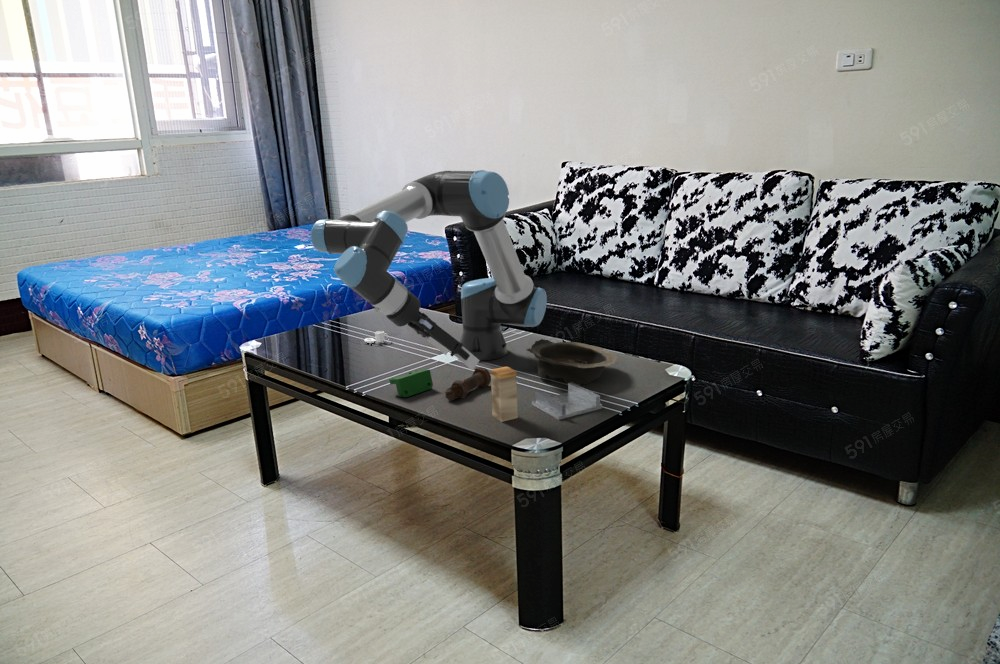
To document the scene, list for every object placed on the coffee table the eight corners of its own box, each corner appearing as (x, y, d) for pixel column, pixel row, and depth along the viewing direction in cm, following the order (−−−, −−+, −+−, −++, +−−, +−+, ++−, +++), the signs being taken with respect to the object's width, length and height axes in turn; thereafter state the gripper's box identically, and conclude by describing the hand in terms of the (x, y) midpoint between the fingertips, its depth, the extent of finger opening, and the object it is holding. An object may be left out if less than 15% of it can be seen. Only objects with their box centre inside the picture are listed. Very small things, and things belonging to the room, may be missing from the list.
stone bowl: (510, 379, 209) (510, 347, 207) (563, 362, 227) (564, 333, 225) (583, 396, 193) (584, 362, 191) (633, 377, 211) (635, 345, 209)
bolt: (447, 408, 195) (482, 388, 207) (460, 402, 192) (494, 383, 204) (437, 388, 195) (472, 369, 207) (449, 382, 192) (485, 363, 204)
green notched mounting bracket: (418, 401, 207) (422, 370, 208) (430, 401, 203) (434, 370, 204) (385, 395, 200) (389, 364, 201) (396, 395, 196) (400, 363, 197)
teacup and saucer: (361, 345, 247) (360, 333, 246) (377, 339, 253) (376, 327, 252) (381, 348, 242) (380, 336, 241) (397, 342, 249) (396, 330, 248)
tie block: (492, 416, 184) (490, 369, 181) (508, 412, 186) (506, 366, 183) (501, 422, 180) (499, 374, 177) (517, 417, 182) (516, 371, 179)
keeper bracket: (532, 404, 190) (531, 391, 189) (574, 394, 196) (574, 381, 195) (558, 419, 180) (558, 406, 179) (602, 408, 186) (602, 395, 185)
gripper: (365, 305, 172) (429, 356, 183) (408, 329, 151) (477, 385, 162) (386, 280, 173) (447, 332, 184) (431, 299, 152) (497, 357, 163)
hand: (461, 357), depth 173 cm, fingers open, 13 cm apart
